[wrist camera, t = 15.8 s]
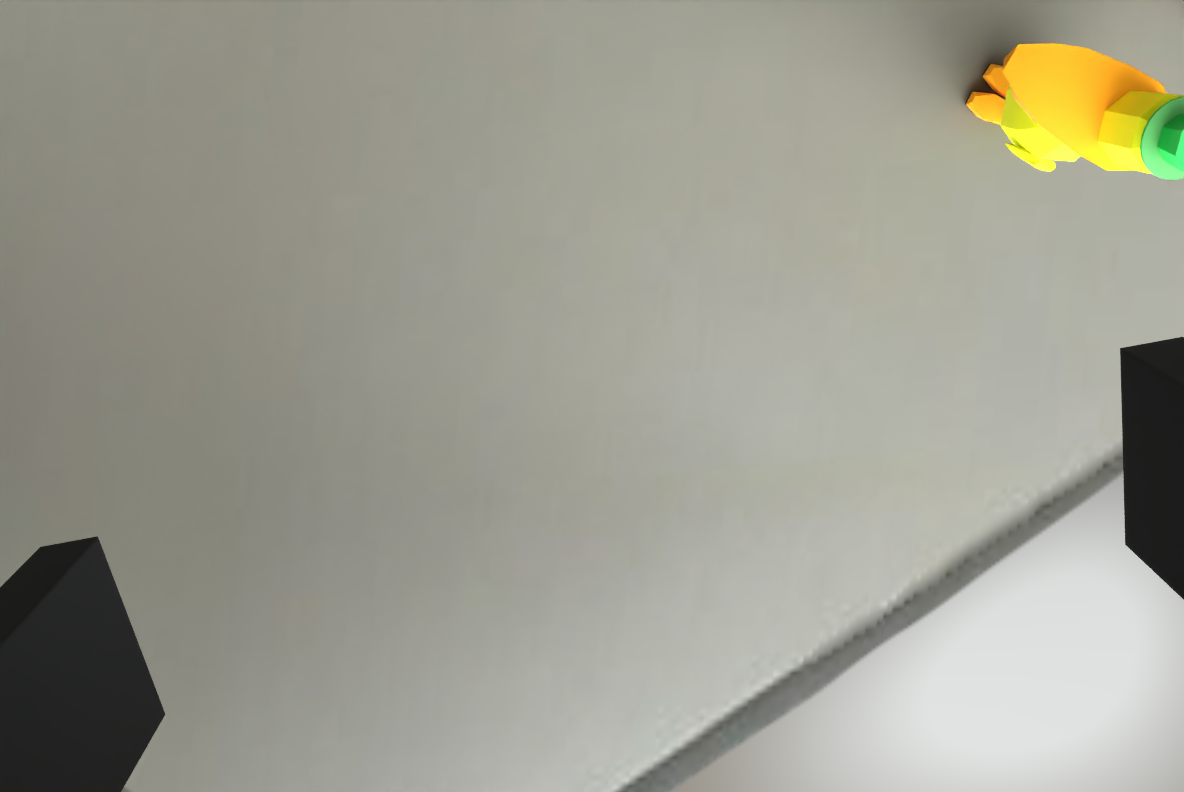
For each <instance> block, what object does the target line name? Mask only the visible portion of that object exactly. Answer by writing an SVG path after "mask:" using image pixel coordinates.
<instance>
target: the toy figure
mask: <svg viewBox="0 0 1184 792" xmlns="http://www.w3.org/2000/svg"><path fill="white" fill-rule="evenodd" d="M983 78H984V79H985V80H986V82H987V83H988V85H989V86H990V87H991V89H992V90H993V91H995V92H996V93H998V94H1000V95H1002V96H1004V97H1006V98H1005V100H1004V99H1003V98H1001V97H1000V96H998V95H996V94H992V93H983V92H972V93H971V95H970V97H969V99H968V101H967V103H966V105H967V106H968V107H969V108H970V110H971V111H972V112H973V113H974V114H975V115H976V116H977V117H979V118H981V119H983V120H985V121H988V122H992V123H996V124H1000V126H1001V128H1002V129H1003V130H1004V132H1005V133H1006V135H1007V136H1008V138H1009V139H1010V140H1011V142H1012V143H1013V144H1009V143H1005V144H1006V146H1007V147H1008V148H1009V149H1010V150H1011V151H1012V152H1013V153H1014V154H1015V155H1016V156H1018V157H1019V158H1021V159H1023V160H1024V161H1026V162H1027V163H1029V164H1030V165H1032V166H1033V167H1035V168H1036V169H1039V170H1042V171H1052V170H1054V169H1055V163H1054V162H1052V161H1051V160H1062V161H1075V160H1076V159H1078V158H1079V157H1080V156H1082V157H1084V158H1086V159H1087V160H1089V161H1091V162H1093V163H1094V164H1096V165H1098V166H1100V167H1101V168H1103V169H1105V170H1131V171H1141V172H1145V173H1152V174H1153V175H1155V176H1157V177H1159V178H1162V179H1168V180H1175V179H1181V178H1184V96H1183V95H1175V94H1167V93H1166V91H1165V89H1164V87H1163V84H1161V83H1160V82H1158V81H1156V80H1154V79H1153V78H1151V77H1149V76H1148V75H1146V74H1144V73H1142V72H1141V71H1139V70H1137V69H1135V68H1134V67H1132V66H1130V65H1127V64H1125V63H1123V62H1120V61H1118V60H1115V59H1113V58H1110V57H1108V56H1105V55H1103V54H1100V53H1098V52H1095V51H1093V50H1090V49H1088V48H1083V47H1076V46H1070V45H1064V44H1057V43H1047V44H1019V45H1017V46H1016V47H1015V48H1014V49H1013V50H1012V51H1011V52H1010V53H1009V54H1008V55H1007V56H1006V57H1005V58H1004V64H1003V66H1000V65H995V64H990V66H989V67H988V69H987V70H986V72H985V74H984V75H983Z"/></svg>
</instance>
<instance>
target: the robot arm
mask: <svg viewBox="0 0 1184 792" xmlns="http://www.w3.org/2000/svg"><path fill="white" fill-rule="evenodd" d="M1120 355H1121V393H1122V432H1123V470H1124V507H1125V508H1124V509H1125V543H1126V545H1127V546H1128V547H1129V548H1130V549H1131V550H1132V551H1133V552H1134V553H1135V554H1136V555H1137V556H1138V557H1139V558H1140V559H1141V560H1142V561H1144V563H1146V564H1147V565H1148V566H1149V567H1150V568H1151V569H1152V570H1153V571H1154V572H1155V573H1156V574H1157V575H1158V576H1159V577H1160V578H1162V579H1163V580H1164V581H1165V582H1166V583H1167V584H1168V585H1169V586H1170V587H1171V588H1172V589H1173V590H1174V591H1175V592H1176V593H1177V594H1178V595H1180V596H1181V597H1182V598H1183V599H1184V337H1179V338H1174V339H1169V340H1163V341H1158V342H1152V343H1147V344H1141V345H1136V346H1131V347H1125V348H1120ZM164 716H165V712H164V710H163V707H162V704H161V702H160V699H159V696H158V694H157V691H156V689H155V686H154V683H153V681H152V678H151V675H150V673H149V670H148V668H147V665H146V662H145V660H144V657H143V654H142V652H141V649H140V647H139V644H138V641H137V639H136V636H135V633H134V631H133V628H132V625H131V623H130V620H129V618H128V615H127V612H126V610H125V607H124V604H123V602H122V599H121V597H120V594H119V591H118V589H117V586H116V583H115V581H114V578H113V576H112V573H111V570H110V568H109V565H108V562H107V560H106V557H105V554H104V552H103V549H102V547H101V544H100V541H99V539H98V537H92V538H87V539H82V540H76V541H71V542H65V543H60V544H54V545H49V546H43V547H40V548H39V549H38V550H37V551H36V552H35V553H34V554H33V555H32V556H31V557H30V558H29V559H28V560H27V561H26V562H25V563H24V564H23V565H22V566H21V567H20V568H19V569H18V570H17V571H16V572H15V573H14V574H13V575H12V576H11V577H10V578H9V579H8V580H7V581H6V582H5V583H4V584H3V585H2V586H1V587H0V792H121V791H122V789H123V787H124V785H125V784H126V782H127V780H128V778H129V777H130V775H131V773H132V771H133V770H134V768H135V766H136V765H137V763H138V761H139V759H140V758H141V756H142V754H143V752H144V751H145V749H146V747H147V745H148V744H149V742H150V740H151V738H152V737H153V735H154V733H155V731H156V730H157V728H158V726H159V724H160V723H161V721H162V719H163V717H164Z"/></svg>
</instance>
